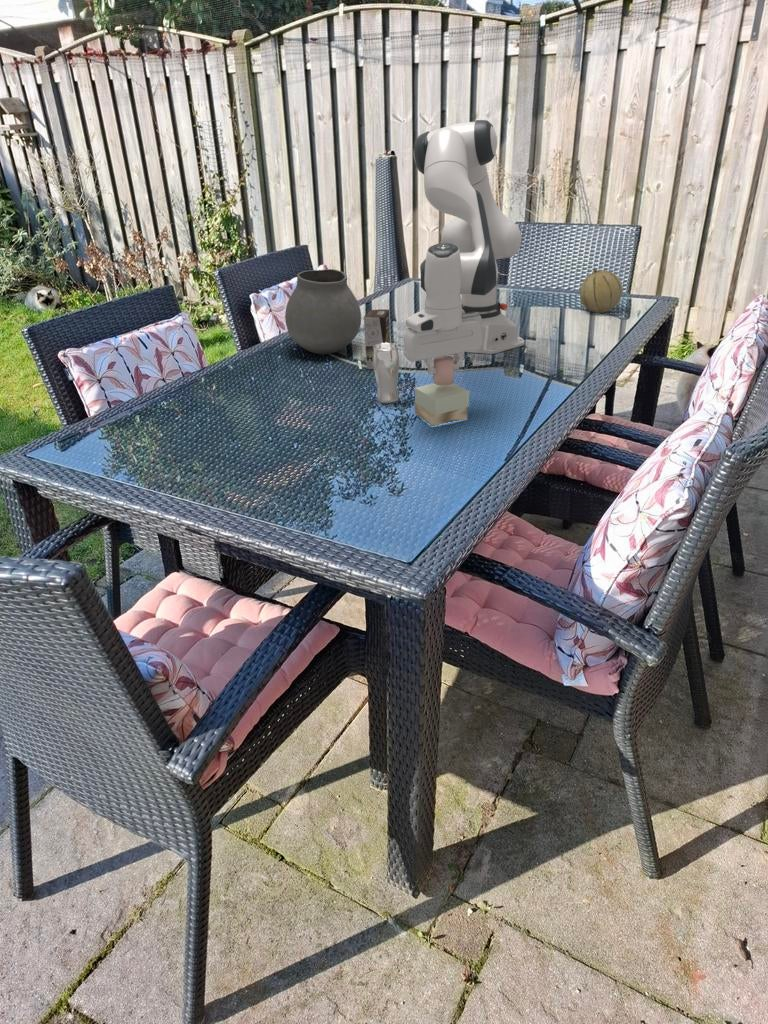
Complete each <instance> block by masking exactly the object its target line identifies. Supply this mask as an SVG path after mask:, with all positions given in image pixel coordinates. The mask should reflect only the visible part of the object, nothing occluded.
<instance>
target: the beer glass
mask: <svg viewBox="0 0 768 1024" xmlns="http://www.w3.org/2000/svg"><path fill="white" fill-rule="evenodd" d="M398 347H399V346H398V344H396V343H393V342H391V343H380V344H376V345H374V346H373V365H374V369H373V371H374V375H375V380H376V384H377V396H376V401H377V403H380V404H385V405H386V404H387V405H388V403H389V404H395V403H397V402H398V401H400V400H399V399H400V398H399V397H400V396H399V393H398V378H399V373H400V372H399V371H400V357H399V356H400V354H399V348H398ZM396 401H397V402H396Z"/></svg>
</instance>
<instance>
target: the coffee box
mask: <svg viewBox="0 0 768 1024" xmlns="http://www.w3.org/2000/svg"><path fill="white" fill-rule="evenodd" d="M390 318H391V317H390V309H369V310H368V311H367V313H366V314H365V315H364V316H363V327H364V342H365V343H364V345H365V363H366V365H365V366H366V369H367V370H374V365H373V346H374V345H376V344H380V343H392V342H391V324H390V323H391V322H390V320H391V319H390Z"/></svg>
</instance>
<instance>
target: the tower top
mask: <svg viewBox="0 0 768 1024" xmlns="http://www.w3.org/2000/svg"><path fill="white" fill-rule="evenodd" d="M415 403H417V404H419V405H420V406H422V407H423V408H425V409H426V410H428V411H430V412H431V413H433V414H434V415H438V414H442V413H446V412H450V411H453V410H457V409H461V408H465V407H467V408H468V407H470V391H469V390H468V389H466V388H464V387H462V386H461V385H458V384H456V383H455V382H453V384H451V385H446V386H440V385H436V384H434V382H433V383H429V384H425V385H424V384H423V385H421V386H417V387H414V404H415Z"/></svg>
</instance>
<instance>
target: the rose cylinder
mask: <svg viewBox="0 0 768 1024" xmlns="http://www.w3.org/2000/svg"><path fill="white" fill-rule="evenodd" d="M454 359H455V357H453V356H452V355H447V356H441V357H436V358H433V366H434V367H435V368H436V374H435V375H433V383H434V384H436V385H440V386H446V385H451V384H453V383H455V382H454V381H455V380H454V379H455V378H454V375H455V374H454V372H455V371H454Z"/></svg>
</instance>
